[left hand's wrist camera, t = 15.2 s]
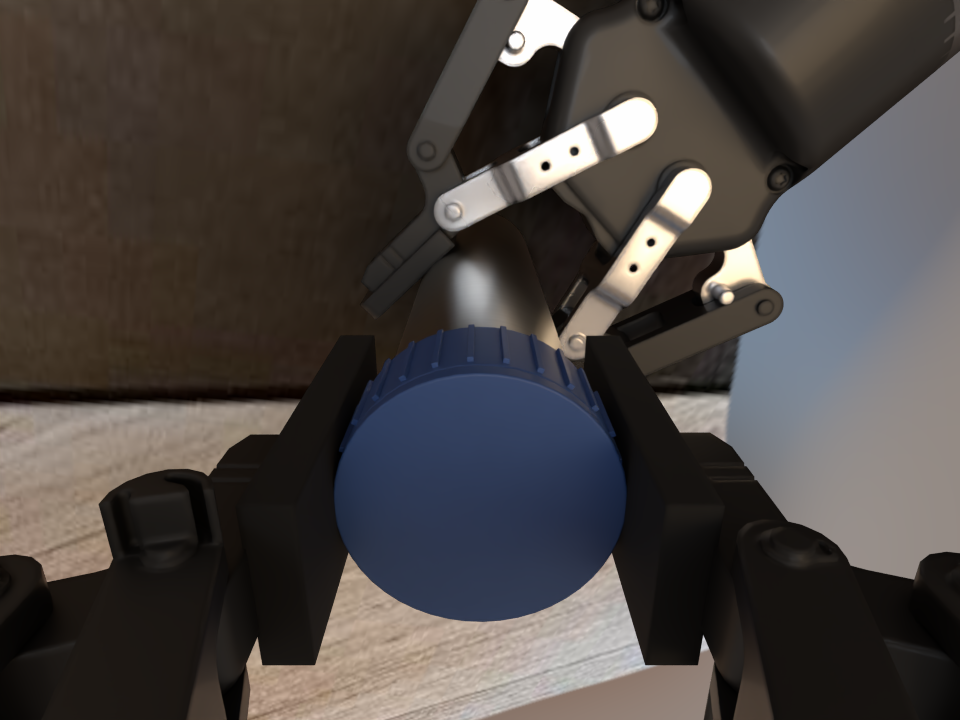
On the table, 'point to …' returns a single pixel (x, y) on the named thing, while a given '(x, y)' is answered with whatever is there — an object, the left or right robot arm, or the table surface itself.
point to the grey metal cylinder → (482, 287)
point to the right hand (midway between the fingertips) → (423, 353)
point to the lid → (480, 477)
